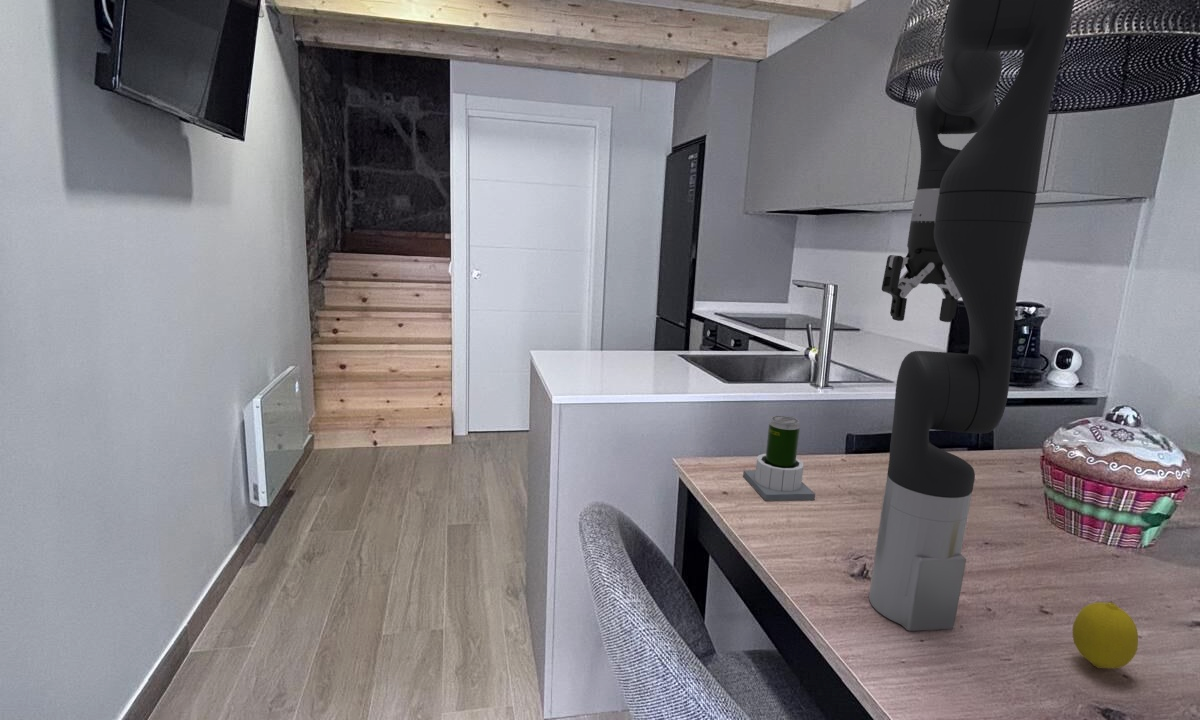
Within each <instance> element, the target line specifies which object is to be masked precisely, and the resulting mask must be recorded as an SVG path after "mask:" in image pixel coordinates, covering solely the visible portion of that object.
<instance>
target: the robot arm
mask: <svg viewBox="0 0 1200 720" xmlns="http://www.w3.org/2000/svg"><path fill="white" fill-rule="evenodd" d="M1075 1H1076V0H949V4H948V7H947V8H948V9H947V16H946V21H945V23H946V24H945V29H944V39H943V40H944V41H943V51H942V52H943V53H942V56H943V58H942V63H943V66H942V70H941V73H940V74H939V75H940V76H939V79H938V81H937V85H933V86H929V87H928V88H926V89H925V90H924V91H923V92H922V93H921V95H920V96H919V98H918V100H917V101H916V106H915V120H916V127H917V131H918V138H919V139H918V140H919V144H920V145H919V146H920V147H919V149H920V167H919V174H918V182H917V188H916V189H917V190H916V195H915V197H914V200H913V204H912V209H911V217H910V224H909V230H908V231H909V232H908V237H907V244H906V246H907V251H908V252H907V254H906V255H905V256H903V255H898V254H897V255H895V254H890V255H888V256H887V258H886V264H885V269H884V274H883V279H882V285H881V291H882V292H884V293H887V294H889V295H890V296H891V297H892V298H891V304H890V305H891V306H890V316H891V317H892V320H893V321H898V322H902V321H904V320H905V316H906V315H905V314H906V309H907V308H906V307H907V302H908V298H906V297H907V296H908V295H909V294H910V292H912V290H913V289H915V288H917V287H918V286H919V285H920V284H921V285H928V284H931V285H936V286H937V287H938V288H939V289H940V290H941V293H942V294H943V296H944V298H941V307H940V313H939V317H938V318H939V321H940V322H944V323H951V322H952V321H953V320H954V318H955V317H956V313H957V306H958V301H959V299H962V302H963V304H964V307H965V310H966V313H967V317H968V323H969V326H968V327H969V346H968V347H969V348H968V353H959V352H957V353H956V352H944V351H933V350H932V351H929V350H928V351H927V350H915V351H911V352H909V353H908V354H906V356H904V358H903V360H902V361H901V363H900V366H899V368H898V373H897V377H896V384H895V385H896V386H895V394H894V408H893V421H892V429H891V436H890V442H889V443H890V445H889V459H888V460H889V461H888V467H887V473H886V474H887V475H886V481H885V486H884V487H885V488H884V492H883V493H884V495H883V498H882V499H883V501H882V506H881V512H880V518H879V519H880V520H879V524H878V525H879V527H878V533H877V538H876V539H877V540H876V546H875V553H874V558H873V565H872V575H871V581H870V589H869V594H868V598H869V599H868V600H869V602H870V604H871V606H872V607H873V609H875V610H876V612H878V613H879V614H881V615H882V616H883V617H885V618H887V619H888V620H891V622H892V621H893V622H894V623H897V624H899V625H901V626H902V627H903V628H904V629H906V630H907V631H909V632H913V631H914V632H915V631H931V630H932V631H934V630H953V629H954V628H955V624H956V618H957V612H958V607H959V602H960V597H961V591H962V586H963V580H964V576H965V568H966V564H967V558H966V556H964V555H962V551H963V550H962V549H963V544H964V537H965V533H966V525H967V521H968V515H969V510H970V506H971V500H972V495H973V489H974V485H975V477H976V474H975V470H974V468H973V466H972V465H971V464H970V462H969V463H968V462H967V461H966V460H964V458H961V457H960V456H958V455H955V454H953V453H950V452H948V451H945V450H944V449H941V448H939V447H937V446H935V445H934V444H932V443H931V442H930V438H929V437H930V430H934V431H943V432H944V431H945V432H956V433H967V434H979V435H980V434H988V433H991V432H992V431H994V430H995V429H996V428H997V427H998V426H999V424H1000V421H1001V420H1002V418H1003V416H1004V413H1005V409H1006V405H1007V401H1008V395H1009V389H1010V388H1009V386H1010V377H1011V366H1012V355H1013V353H1012V352H1013V342H1014V341H1013V340H1014V330H1015V329H1014V327H1015V318H1016V307H1017V299H1018V294H1019V289H1020V281H1021V277H1022V272H1023V271H1022V270H1023V265H1024V260H1025V255H1026V251H1027V245H1028V241H1029V235H1030V232H1031V231H1030V230H1031V227H1032V221H1033V216H1034V209H1035V205H1036V201H1037V200H1036V198H1037V193H1038V187H1039V186H1038V185H1039V179H1040V173H1041V172H1040V171H1041V163H1042V157H1043V149H1044V143H1045V138H1046V137H1045V136H1046V129H1047V124H1048V123H1047V122H1048V119H1049V118H1048V117H1049V111H1050V106H1051V103H1052V102H1051V101H1052V97H1053V94H1054V93H1053V92H1054V89H1055V85H1056V80H1057V76H1058V74H1059V73H1058V72H1059V68H1060V63H1061V60H1062V56H1063V52H1064V47H1065V43H1066V39H1067V35H1068V31H1069V27H1070V24H1071V19H1072V15H1073V9H1074V5H1075ZM1013 51H1023V56H1022V62H1021V64H1020V68H1019V70H1018V73H1017V75H1016V77H1015V79H1014V81H1013V83H1012V85H1011V86H1010V88H1009V90H1008V91H1007V92H1006V94H1005V95H1004V97H1003V98H1002V100H1001V101H1000V102H999V104H998V105H997V107H996V96H995V88H996V87H997V84H998V83H999V81H1000V79H1001V75H1002V71H1003V61H1002V57H1001V54H1000V52H1013ZM969 134H971V135H972V134H974V135H973V136H972V138H970V140H968V142H967V143H966V144H965V145H964V146H963V147H962V149H957V148H952V147H948V146H946V145H944V144H943V143H942V142H941V140H940V138H939V135H969ZM904 268H905V269H906V271H905V272H904V274H903V275H902V276H901V274H902V270H903V269H904Z"/></svg>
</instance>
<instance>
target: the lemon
mask: <svg viewBox="0 0 1200 720" xmlns="http://www.w3.org/2000/svg"><path fill="white" fill-rule="evenodd" d="M1072 625H1073V626H1072V638H1073V643H1074V645H1075V647H1076V649H1077V651H1078V652H1079V654H1081V656H1082V657H1083V658H1085V659H1086V660H1087V661H1088V662H1090V663H1091V665H1093V667H1094V666H1096V667H1098V668H1097V669H1103V668H1104V669H1119V668H1122V667H1124V666H1127V665H1128V664H1129V663H1130V662H1131V661H1132V660H1133V659H1134V657H1135V655H1137V651H1138V646H1139V634H1138V633H1139V632H1138V628H1137V625H1136V623H1135V621H1134V620H1133V618H1132V617H1131V616H1130V615H1129V613H1127V612H1126V611H1125V610H1123V609H1122V608H1120V607H1119V606H1118V605H1117V604H1116V603H1113V602H1101V601H1100V602H1092V603H1089V604H1088V605H1087V604H1086V605H1085V606H1084V607H1083V608H1081V610H1080V611H1079V612H1078V614H1077V615H1076V617H1075V619H1074V622H1073V624H1072ZM1096 667H1095V668H1096Z"/></svg>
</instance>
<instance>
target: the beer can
mask: <svg viewBox="0 0 1200 720" xmlns="http://www.w3.org/2000/svg"><path fill="white" fill-rule="evenodd" d="M800 428H801V427H800V420H799V419H797V418H795V417H793V416H791V417H790V416H787V415H774V416H771V418H770V421H769V424H768V431H767V442H766V450H765V453H766V459H765V464H768V465H771V466H773V467H779V468H795V464H796V458H797V453H798V446H799V435H800Z"/></svg>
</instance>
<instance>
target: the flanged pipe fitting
mask: <svg viewBox="0 0 1200 720" xmlns="http://www.w3.org/2000/svg"><path fill="white" fill-rule="evenodd" d="M765 459H766V452H765V453H762V454H758V456H757V458H756V461H755V462H756V464H755V469H752V470H751V469H749V470H746V469H744V470H743V472H742V473H743V474H742V476H743V478H744V479H745V480H746V481H747V482H748V484H750V486H751V487H752V488H753V489H754V490H755V491H756V492H757V494H759V496H760V497H761V498H762V499H763V500H764V501H765V502H782V501H784V502H785V501H786V502H787V501H790V502H791V501H815V499H816V493H815V492H814V491H813V490H812V489H811V488H809V487H808V485H806V484H805V483H804V482H803V476H804V466H805V465H804V464H805V463H804V462H803V461H802V460H800V459H799V458H797V457H796V464H795V468H779V467H773V466H771V465H768V464H765Z"/></svg>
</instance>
